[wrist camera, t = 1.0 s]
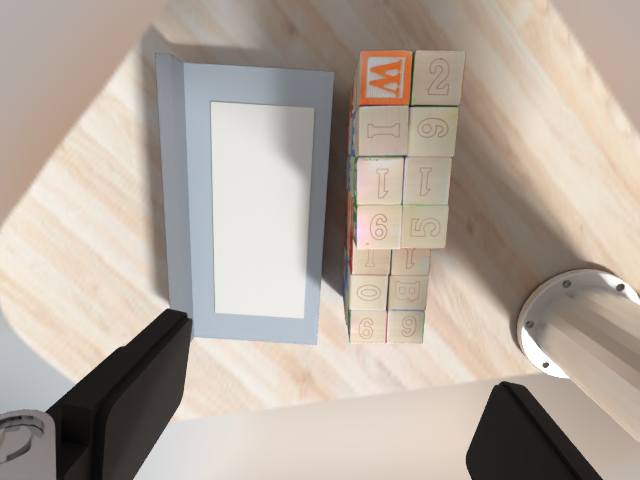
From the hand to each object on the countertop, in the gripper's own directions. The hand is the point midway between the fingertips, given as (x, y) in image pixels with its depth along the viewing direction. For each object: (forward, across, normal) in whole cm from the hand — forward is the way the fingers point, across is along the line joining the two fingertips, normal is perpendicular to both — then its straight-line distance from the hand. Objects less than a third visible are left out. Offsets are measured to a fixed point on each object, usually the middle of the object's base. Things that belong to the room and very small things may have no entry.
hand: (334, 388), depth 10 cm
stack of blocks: (+26, -4, -3) cm, 26 cm away
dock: (+25, +8, 0) cm, 26 cm away
